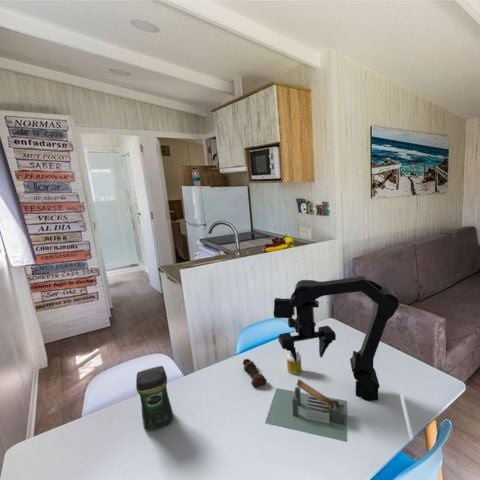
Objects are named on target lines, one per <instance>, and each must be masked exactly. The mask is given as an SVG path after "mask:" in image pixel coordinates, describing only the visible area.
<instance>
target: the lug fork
mask: <svg viewBox="0 0 480 480" xmlns="http://www.w3.org/2000/svg"><path fill="white" fill-rule="evenodd" d="M294 391H295V397H293V399H292V402H293V416H295V417H298V406H300V405H301V396H300V392H301V388H300V387H298V386H295V389H294Z"/></svg>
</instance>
